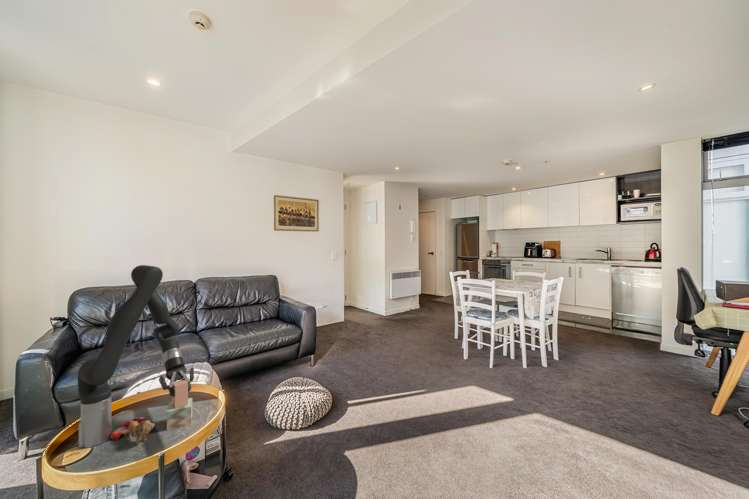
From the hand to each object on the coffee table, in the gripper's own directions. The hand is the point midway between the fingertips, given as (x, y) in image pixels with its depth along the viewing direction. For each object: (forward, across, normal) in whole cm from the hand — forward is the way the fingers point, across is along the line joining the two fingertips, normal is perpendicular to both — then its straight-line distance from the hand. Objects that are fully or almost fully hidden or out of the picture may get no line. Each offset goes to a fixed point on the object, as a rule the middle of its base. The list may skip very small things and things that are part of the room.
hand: (181, 393), depth 133 cm
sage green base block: (+8, 0, +11) cm, 14 cm away
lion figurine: (+10, -15, +10) cm, 21 cm away
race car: (+2, -17, +18) cm, 25 cm away
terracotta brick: (+3, 0, +5) cm, 6 cm away
